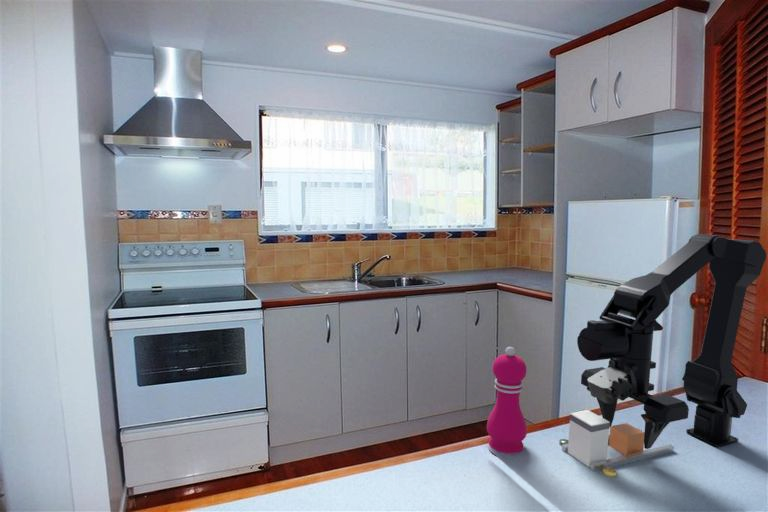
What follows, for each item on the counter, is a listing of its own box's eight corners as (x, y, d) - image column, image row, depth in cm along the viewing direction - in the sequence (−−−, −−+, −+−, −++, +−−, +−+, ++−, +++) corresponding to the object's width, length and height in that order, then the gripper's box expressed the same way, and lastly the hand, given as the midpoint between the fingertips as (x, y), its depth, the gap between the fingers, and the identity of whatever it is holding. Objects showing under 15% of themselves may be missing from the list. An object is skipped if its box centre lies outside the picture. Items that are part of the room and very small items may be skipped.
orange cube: (625, 443, 93) (626, 423, 93) (643, 453, 89) (644, 432, 89) (608, 446, 92) (610, 426, 91) (626, 457, 88) (628, 436, 88)
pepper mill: (527, 463, 87) (533, 354, 85) (485, 458, 89) (490, 351, 86) (524, 443, 94) (529, 342, 92) (485, 439, 96) (489, 339, 93)
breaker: (585, 448, 90) (587, 409, 89) (606, 462, 86) (610, 421, 85) (567, 452, 89) (569, 413, 88) (588, 467, 84) (591, 425, 83)
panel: (626, 430, 100) (627, 420, 100) (691, 466, 87) (692, 454, 87) (547, 448, 93) (547, 437, 92) (605, 489, 80) (606, 477, 80)
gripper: (561, 344, 94) (556, 422, 96) (645, 378, 77) (637, 472, 79) (605, 339, 98) (600, 413, 100) (694, 370, 81) (686, 459, 83)
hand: (626, 437), depth 90 cm, fingers open, 8 cm apart
